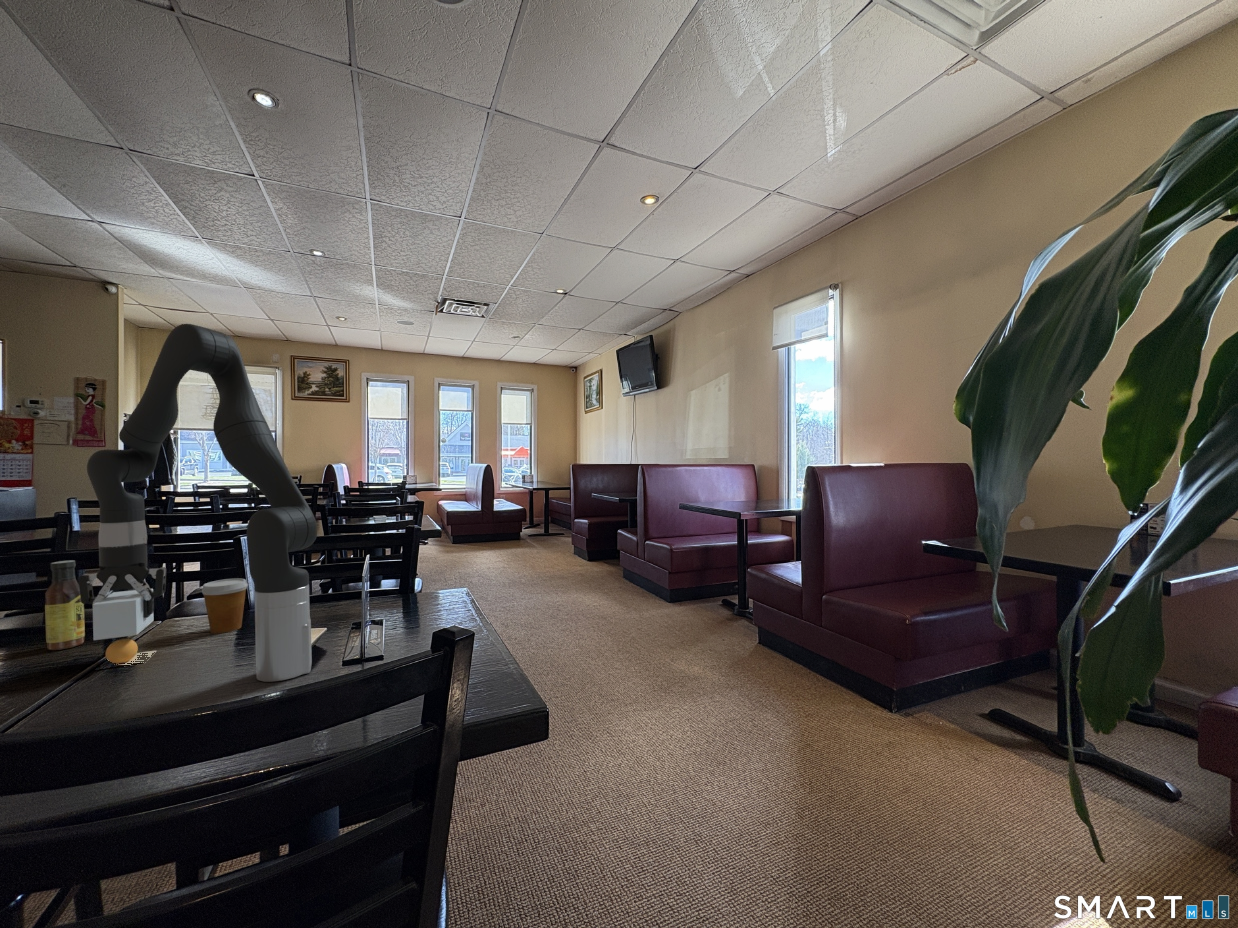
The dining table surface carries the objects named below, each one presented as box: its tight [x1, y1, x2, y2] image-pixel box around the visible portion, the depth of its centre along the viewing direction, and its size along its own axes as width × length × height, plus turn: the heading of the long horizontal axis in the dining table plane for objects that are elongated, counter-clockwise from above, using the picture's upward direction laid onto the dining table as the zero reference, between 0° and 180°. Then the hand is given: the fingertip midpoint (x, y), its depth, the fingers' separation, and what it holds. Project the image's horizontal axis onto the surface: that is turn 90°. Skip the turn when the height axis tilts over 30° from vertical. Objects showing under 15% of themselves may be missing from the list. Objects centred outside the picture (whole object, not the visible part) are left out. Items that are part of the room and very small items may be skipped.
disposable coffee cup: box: [201, 578, 249, 634], centre depth 133 cm, size 10×10×12 cm
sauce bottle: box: [44, 559, 86, 651], centre depth 122 cm, size 7×6×20 cm
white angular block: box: [92, 588, 154, 641], centre depth 113 cm, size 7×11×7 cm, turn 27°
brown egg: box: [105, 638, 139, 664], centre depth 112 cm, size 5×5×5 cm
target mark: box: [114, 649, 157, 666], centre depth 113 cm, size 8×8×1 cm
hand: (125, 618), depth 113 cm, fingers closed on white angular block, 6 cm apart
